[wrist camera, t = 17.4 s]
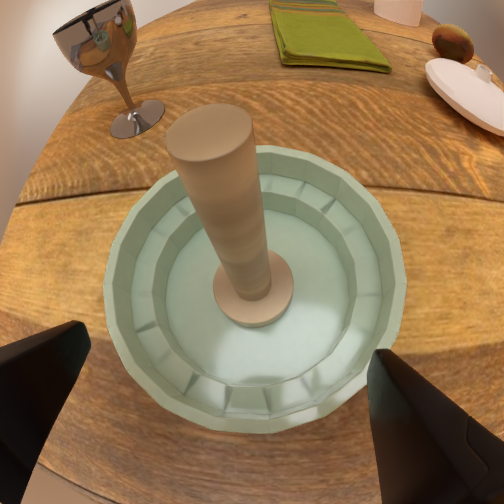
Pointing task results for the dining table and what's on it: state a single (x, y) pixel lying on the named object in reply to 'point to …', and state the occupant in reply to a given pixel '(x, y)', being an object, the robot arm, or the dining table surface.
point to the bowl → (271, 336)
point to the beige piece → (231, 211)
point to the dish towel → (322, 36)
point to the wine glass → (109, 58)
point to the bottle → (400, 11)
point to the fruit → (453, 43)
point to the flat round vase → (468, 92)
